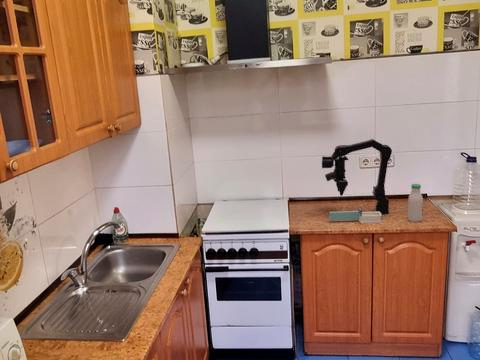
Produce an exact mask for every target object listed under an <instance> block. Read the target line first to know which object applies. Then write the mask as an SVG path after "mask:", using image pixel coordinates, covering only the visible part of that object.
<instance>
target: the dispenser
mask: <svg viewBox="0 0 480 360" xmlns="http://www.w3.org/2000/svg"><path fill="white" fill-rule="evenodd" d="M357 211H359V220H358V223H359V224H360V223H365V224H383V222H384V221H383V219H384V218H383V217H384V216H383V214H381V213H380V211H376V210H375V211H363V210H362V208H361V206H357Z"/></svg>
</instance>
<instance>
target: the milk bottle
mask: <svg viewBox="0 0 480 360" xmlns="http://www.w3.org/2000/svg"><path fill="white" fill-rule="evenodd" d="M421 187H422V186H421V184H420V183H412V184H411V186H410V188H411V191H410V194H409V195H408V199H407V220H408V221H409V222H414V223H417V222H419V223H420V222H422V221H423V216H424V215H423V214H424V198H423V195H422V193H421Z"/></svg>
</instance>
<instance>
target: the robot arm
mask: <svg viewBox="0 0 480 360" xmlns="http://www.w3.org/2000/svg"><path fill="white" fill-rule="evenodd" d="M369 148H373V149H375V150H376V151H378V152H379V160H380V161H379V168H378V175H377V182H376V186H374V185H373V187H372V192H371V193H372V195H373V197H374V199H375V201H376V204H375V212H376V211H380V213H381V214H382V215H389V214H390V207H389V205H390V200H389V198H388V196H387V195H386V190H385V189H386V188H385V183H386V178H387V177H386V176H387V171H388V164H389V161H390V158H391V157H392V153H393V150H392V147H390V146H389V145H388V144H383V143H381V142H378V141H376V140H375V138H371V139H369V140H364V141H360V142H356V143H353V144H342V145H341V144H340V145H337V146H335V148H334V151H333V153H332V154H331V156H325V155H324V156H322V157H321V169H332V168H333V167H334V169H333V171H330V172H328V173H326V174H324V176H325V179H326V182H330V181H331V180H333V181H334V183H335V186H336V188H337V192H339V196H340V197H341V196H343V195H344V193H345V191H346V188H347V187H348V185H349V182H348V180H347V179H346V172H347V171H346V161H349V158H348V157H347V155H349V154H351V153H353V152H357V151H361V150H365V149H369Z"/></svg>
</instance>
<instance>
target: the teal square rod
mask: <svg viewBox="0 0 480 360" xmlns="http://www.w3.org/2000/svg"><path fill="white" fill-rule="evenodd" d="M354 220H355V221H359V211H358V210H346V211H345V210H342V211H341V210H340V211H329V221H354Z"/></svg>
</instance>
